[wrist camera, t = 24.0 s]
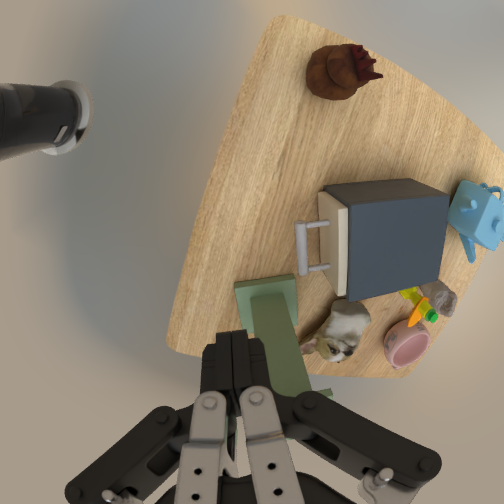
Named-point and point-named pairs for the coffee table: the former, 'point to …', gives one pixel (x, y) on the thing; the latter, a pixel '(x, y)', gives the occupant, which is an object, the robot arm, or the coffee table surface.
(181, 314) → the coffee table surface
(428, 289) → the fossil
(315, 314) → the coffee table surface
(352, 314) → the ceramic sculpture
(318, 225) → the drawer
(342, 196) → the cabinet
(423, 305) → the toy figure
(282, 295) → the stand
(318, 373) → the coffee table surface
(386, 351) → the mug
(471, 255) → the teapot
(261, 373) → the robot arm
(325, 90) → the wooden figurine
